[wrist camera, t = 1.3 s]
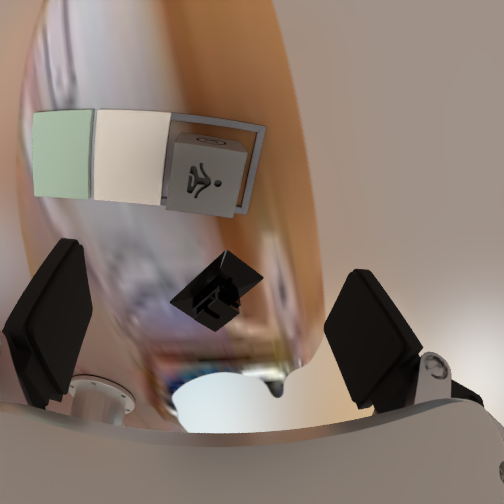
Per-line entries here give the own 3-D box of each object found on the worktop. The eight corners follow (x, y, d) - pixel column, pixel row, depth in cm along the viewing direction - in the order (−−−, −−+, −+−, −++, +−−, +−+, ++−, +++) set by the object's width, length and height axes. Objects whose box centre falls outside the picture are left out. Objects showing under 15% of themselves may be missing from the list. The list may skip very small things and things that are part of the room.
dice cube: (181, 132, 22) (174, 142, 17) (240, 141, 23) (247, 153, 19) (173, 187, 24) (166, 209, 20) (228, 194, 25) (233, 218, 21)
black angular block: (231, 231, 28) (236, 256, 24) (278, 271, 31) (289, 298, 27) (156, 303, 31) (152, 331, 27) (203, 331, 35) (205, 360, 31)
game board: (246, 212, 26) (247, 215, 26) (37, 193, 21) (34, 196, 21) (265, 126, 22) (266, 127, 22) (36, 112, 17) (33, 112, 17)
